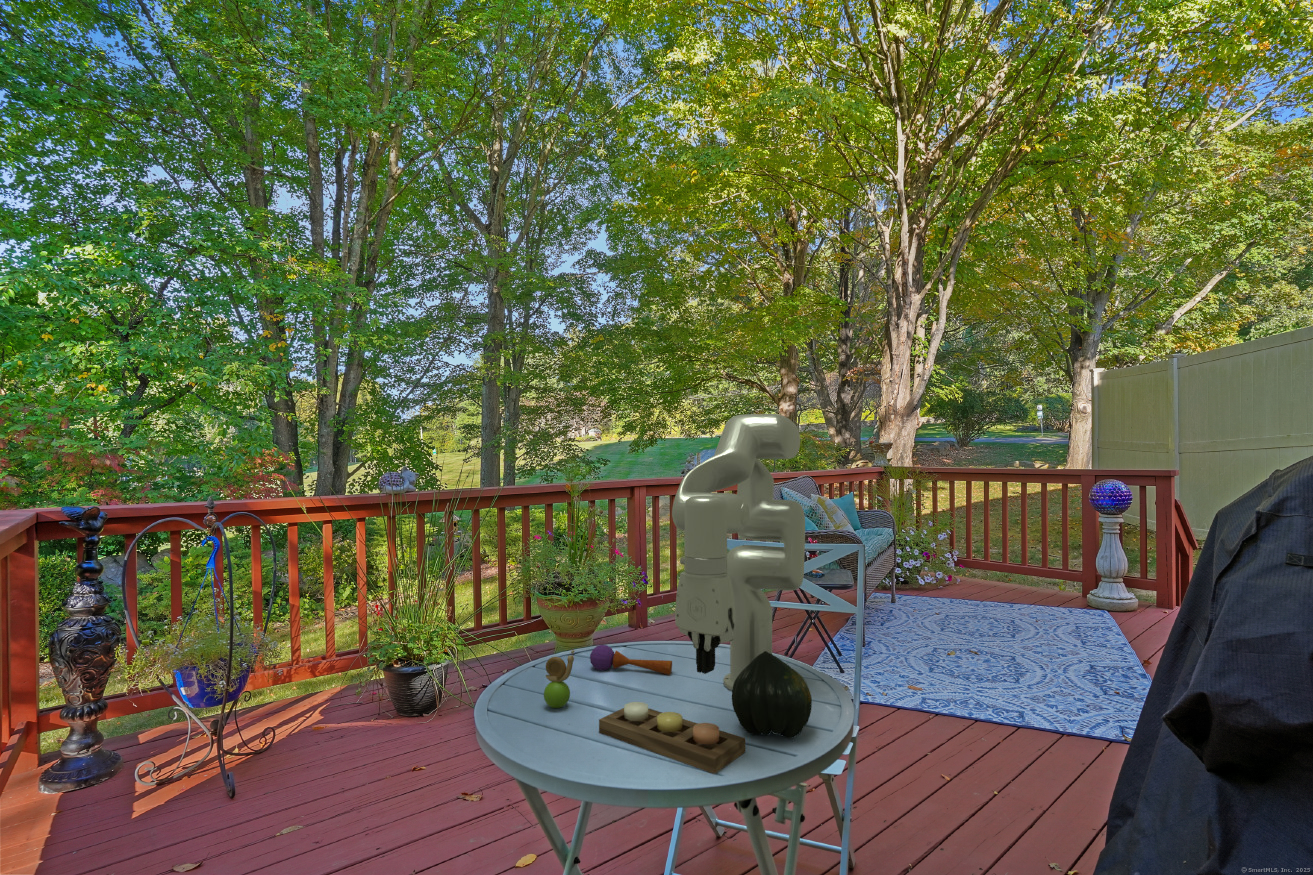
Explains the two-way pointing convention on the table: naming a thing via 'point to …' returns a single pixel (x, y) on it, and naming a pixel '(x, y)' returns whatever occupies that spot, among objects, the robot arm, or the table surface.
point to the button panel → (674, 741)
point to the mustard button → (669, 722)
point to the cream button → (636, 711)
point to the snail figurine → (558, 681)
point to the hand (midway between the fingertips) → (705, 670)
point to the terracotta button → (706, 733)
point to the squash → (771, 698)
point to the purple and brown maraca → (624, 661)
